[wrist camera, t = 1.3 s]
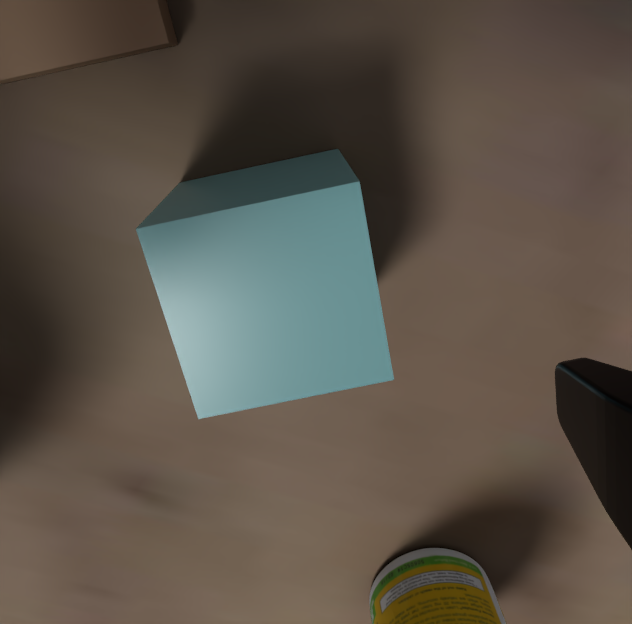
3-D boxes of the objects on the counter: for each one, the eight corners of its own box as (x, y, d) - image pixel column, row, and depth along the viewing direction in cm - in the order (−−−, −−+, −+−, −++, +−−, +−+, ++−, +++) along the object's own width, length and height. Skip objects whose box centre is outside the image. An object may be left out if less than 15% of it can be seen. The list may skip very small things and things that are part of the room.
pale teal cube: (221, 326, 21) (198, 418, 15) (179, 182, 19) (135, 228, 13) (365, 297, 21) (393, 379, 15) (338, 148, 19) (359, 181, 13)
